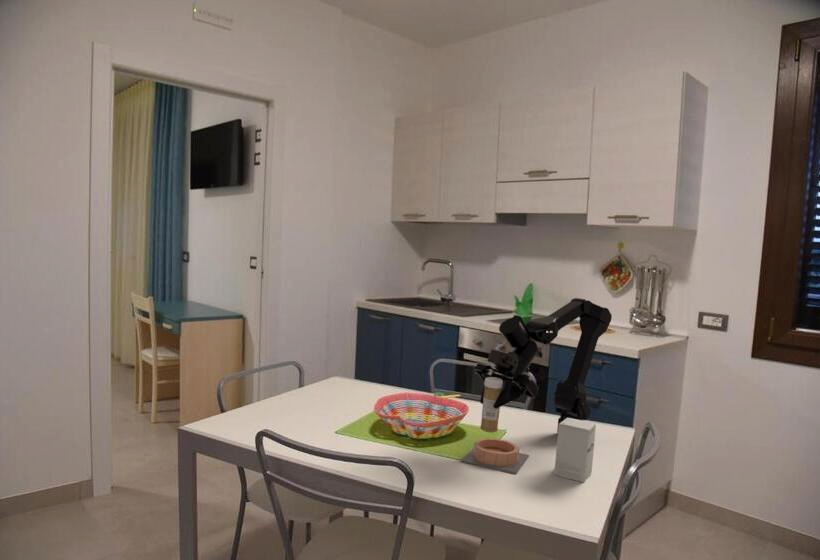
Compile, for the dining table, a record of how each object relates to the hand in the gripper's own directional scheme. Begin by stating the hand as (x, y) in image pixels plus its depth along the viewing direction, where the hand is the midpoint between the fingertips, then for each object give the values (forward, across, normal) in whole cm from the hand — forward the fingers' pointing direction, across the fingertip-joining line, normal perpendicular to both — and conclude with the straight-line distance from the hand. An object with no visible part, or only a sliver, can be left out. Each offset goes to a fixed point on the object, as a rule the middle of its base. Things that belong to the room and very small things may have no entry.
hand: (487, 405), depth 147 cm
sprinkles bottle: (+4, 0, +6) cm, 7 cm away
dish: (+8, +3, +10) cm, 14 cm away
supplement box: (+2, +19, +18) cm, 26 cm away
